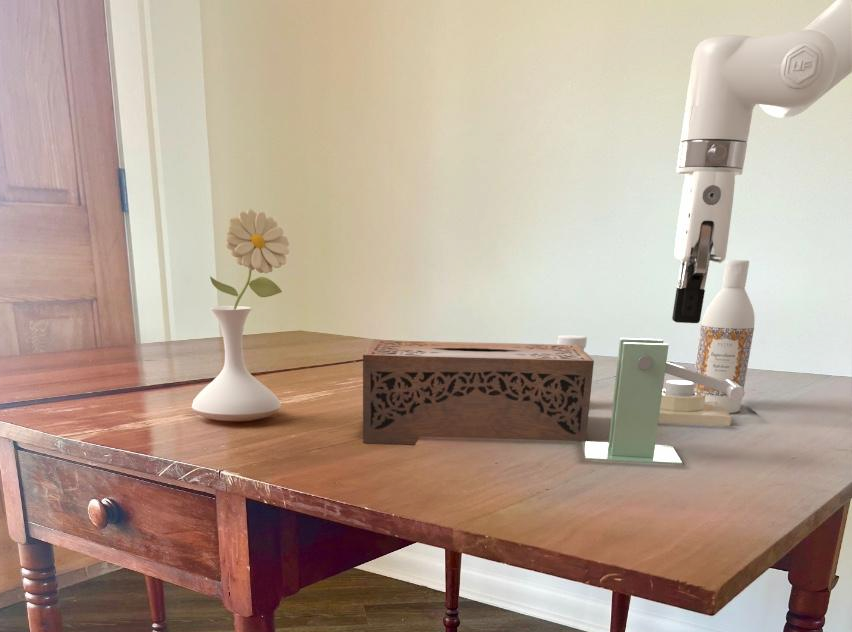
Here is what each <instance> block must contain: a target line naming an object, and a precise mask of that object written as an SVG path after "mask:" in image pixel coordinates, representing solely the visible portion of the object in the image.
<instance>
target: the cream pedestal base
mask: <svg viewBox="0 0 852 632" xmlns="http://www.w3.org/2000/svg"><path fill="white" fill-rule="evenodd" d="M705 396H706V395H705V394H704V393H702V392H698V391H694V393H693V395H691V396H678V395H669V394H665V388H663V391H662V399H661V406H660V414H659V421H658V424H659V423H660V424H679V425H680V424H681V425H682V424H683V425H685V424H686V425H705V426H706V425H707V426H725V427H726V426H728V427H730V426H731V424H732V417H733V416H732V414H729V413H728V412H727V411H726V410H725V409H724V408H723V407H722V406H721V405H720V404H719V403H718V402H707V401H705Z"/></svg>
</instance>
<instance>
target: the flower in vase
mask: <svg viewBox="0 0 852 632" xmlns="http://www.w3.org/2000/svg"><path fill="white" fill-rule="evenodd" d="M227 228H228V230H227V231H226V232H225V234H226V237H225V240H226V242H225V246H226V248H227V249H228V250H230V254H231V256H232V257H234V258H236V264H238V265H239V266H243V267H246V268H248V275H247V279H246V282H245V284H244V286H243V288H242V290H241V292H240V293H238V291H237V289H236V288H235V287H233V286H231V285H228V284H225V283H222V282H220V281H219V280H217V279H215V278H214V277H212V276H211V275H210V276H209V279H210V281H211V283H212V285H213V287H214V288H215V289H216V290H218V291H220V292H222V293H225V294H228V295H230V296H233V297H237V298H236V300H235V303H234V304H233V305H218V306H211V307H210V310H211V311H212V312H213V314H214V315H215V317H216V318H217V321H218V323H219V326H220V330H221V333H222V338H223V347H224V362H223V363H224V365H223V367H222V370H221V371H220V372H219V373H218V375H217V376H216V377H215V378H214V379H213V380H212V381H210V383H208V384H207V385H206V386H205V387H204V388H203V389H201V391H200V392H199V393H198V394H197V395H196V397H195V398H194V399H193V400H192V405H191V409H192V410H193V411H194V413H195V414H197V416H201V417H203V418H206V419H208V420H215V421H222V422H250V421H255V420H261V419H266V418H269V417H270V416H272V415H274V414H277V413H278V412H279V410H280V409H281V407H282V404H281V401H280V399H279V398H278V397H277V396H276V394H275V393H274V392H273V391H272V390H270V389H269V388H268V387H267V386H266V385H265V384H264V383H262V382H261V381H259V379H257V378H256V377H255V376H254V375H252V374H251V373H250V371H249V370H248V369H247V367H246V364H245V361H244V355H243V353H244V352H243V338H244V337H243V336H244V330H245V329H244V328H245V325H246V324H245V323H246V320H247V318H248V317H249V314H250V312H251V311H252V307H251V306H244V305H239V303H240V301H241V299H242V297H243V295H244V294H245V292H246V290H247V288H248V286H249V288H250V290H251V291H253V293H254V294H255V295H257V296H258V297H259V298H269V297H272V296H276V295H278V294H281V293H283V291H282V289H281V288H280V286H278V284H276V282H274V281H273V280H271V279H270V278H268V277H266V276H258V277H256V278H253V279H252V280H251V277H252V271H255V270H256V271H257V272H258V273H260V274H263V273H264V274H268V273H272V272H273V268H274V269H279V268H281V267H282V266H284V265H286V263H287V256H286V255H288V254H289V252H290V249H289V248H288V247H289V245H290V242H289V241H288V238H287V236H285V235H284V229H283V228H282V227H279V226H278V222H277V221H276V220H275V219H274V217H272V216H266V213H265V212H264V211H262V210H261V211H258V212H256V211H254V209H252V208H249V209H247V210H246V212H245V211H244V210H241V211H240V212H239V213H238V216H233V217H229V219H228V224H227Z"/></svg>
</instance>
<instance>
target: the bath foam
mask: <svg viewBox="0 0 852 632" xmlns="http://www.w3.org/2000/svg"><path fill="white" fill-rule="evenodd" d="M749 267H750V261H749V260H747V259H727V260H726V261H725V266H724V273H723V279H722V287H721V289H720V290H719V291H718V293H717V294H716V295H715V297H713V299H712V300H711V302H710V303H709V305H708V306H707V308H706V310H705V312H704V314H703V317H702V320H701V324H700V329H699V338H698V343H697V350H696V358H695V363H694V370H693V371H695V372H698V373H701V374H704V375H707V376H710V377H713V378H716V379H719V380H722V381H724V380H727V379H731V380H733V381H734V382H735V383H737V384H738V385H739V386H740V387H742V388H743V389H744V390H745V385H746V377H747V372H748V366H749V361H750V355H751V349H752V343H753V339H754V338H753V337H754V331H755V321H756V320H755V311H754V307H753V304H752V302H751V299H750V297H749V295H748V293H747V291H746V284H747V280H748V273H749ZM694 391H698V392H702V393H704V394H705V395H706V396H705V401H707V402H718V403H719V404H720V405H721V406H722V407H723V408H724V409H725V410H726V411H727V412H728V413H729V414H730V415H732V414H736V413H739V411H740V410H741V406H742V401H743V398H742V399H741V400H738V401H734V400H732V399H731V398H730V397H729V396H728V395H727V394H725V393H723V392H720V391H717V390H715V389H712V388H709V387H706V386H703V385H700V384H697V383H695V386H694Z"/></svg>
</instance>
